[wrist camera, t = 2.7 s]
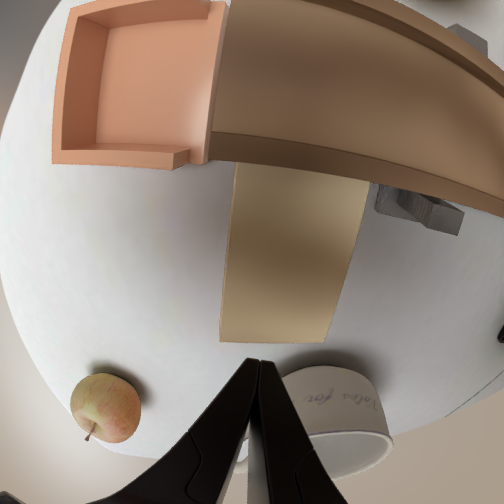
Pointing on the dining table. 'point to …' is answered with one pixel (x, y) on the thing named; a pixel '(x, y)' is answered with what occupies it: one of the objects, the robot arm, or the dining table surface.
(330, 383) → the teacup
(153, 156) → the peach open tray
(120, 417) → the fruit
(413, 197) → the seesaw stand
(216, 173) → the dining table surface
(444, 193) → the lever
